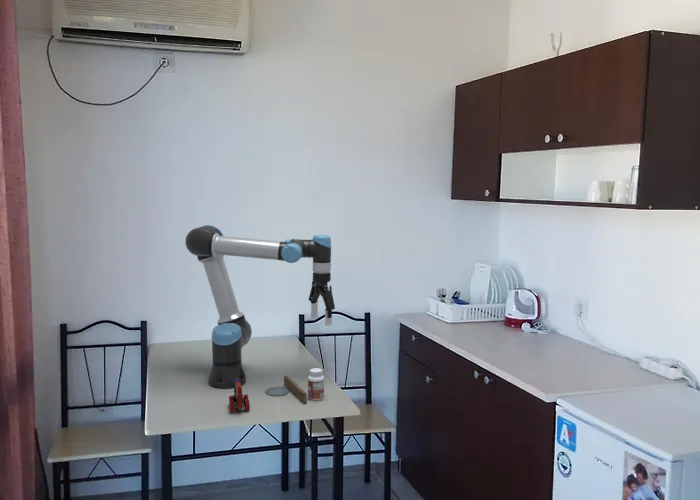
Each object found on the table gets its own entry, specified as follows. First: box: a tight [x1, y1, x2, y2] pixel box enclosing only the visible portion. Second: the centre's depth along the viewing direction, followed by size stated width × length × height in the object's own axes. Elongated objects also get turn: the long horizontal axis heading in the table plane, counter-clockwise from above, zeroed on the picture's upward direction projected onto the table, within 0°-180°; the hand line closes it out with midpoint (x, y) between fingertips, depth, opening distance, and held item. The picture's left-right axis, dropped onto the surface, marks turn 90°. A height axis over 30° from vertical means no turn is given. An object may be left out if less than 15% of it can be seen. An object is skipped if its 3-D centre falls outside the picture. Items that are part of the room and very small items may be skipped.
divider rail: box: [283, 375, 308, 405], centre depth 238 cm, size 1×22×4 cm, turn 26°
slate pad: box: [265, 386, 290, 397], centre depth 240 cm, size 9×9×1 cm
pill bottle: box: [307, 367, 325, 401], centre depth 234 cm, size 6×6×11 cm
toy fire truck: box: [228, 379, 251, 413], centre depth 223 cm, size 7×12×10 cm, turn 14°
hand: (321, 321), depth 259 cm, fingers open, 13 cm apart
